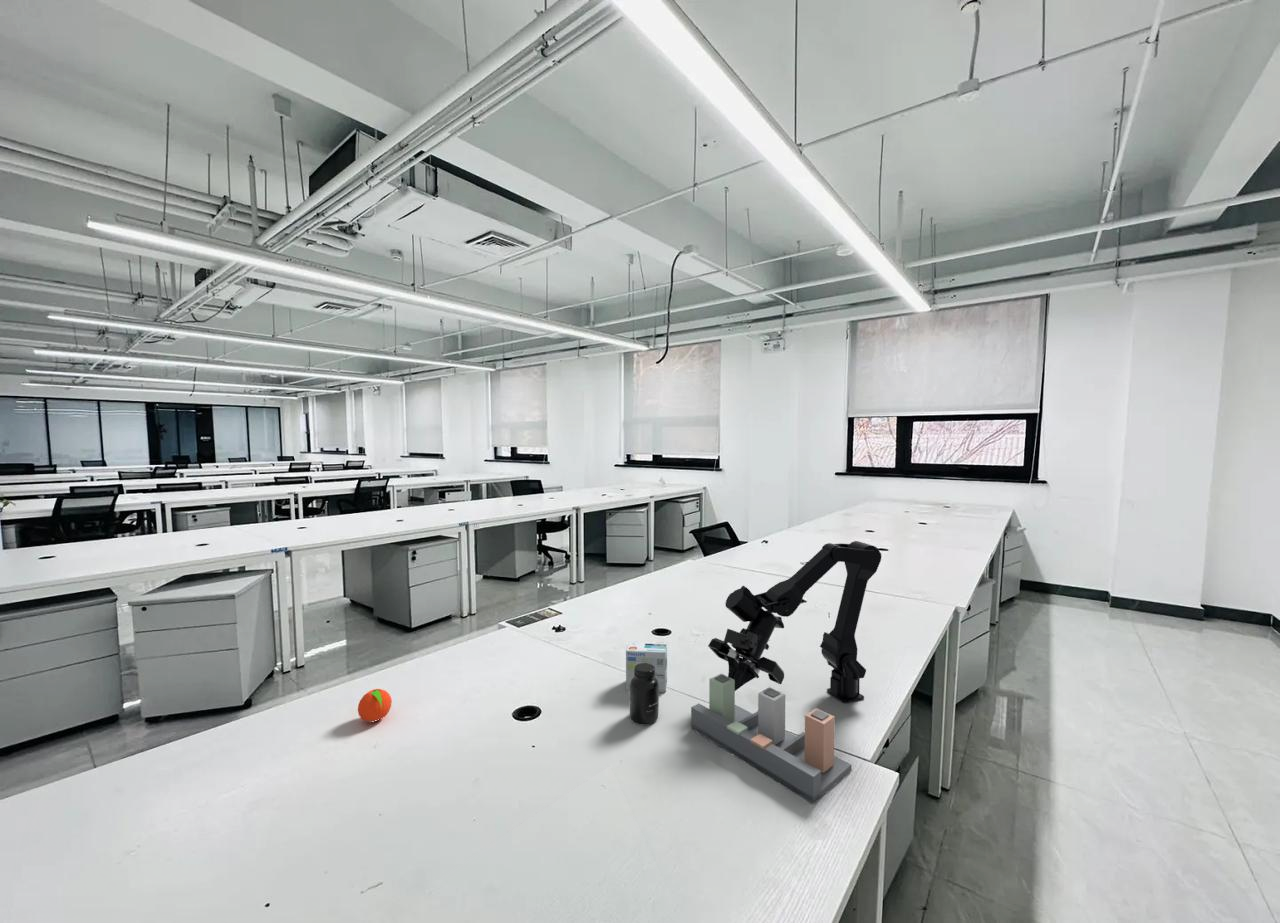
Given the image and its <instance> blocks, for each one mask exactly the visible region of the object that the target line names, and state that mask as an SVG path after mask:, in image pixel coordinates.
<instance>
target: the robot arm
mask: <svg viewBox="0 0 1280 923" xmlns="http://www.w3.org/2000/svg"><path fill="white" fill-rule="evenodd" d="M881 561H882V552H880V550H879V548H878V547H877V546H875V545H872V544H869V543H866V542H863V541H859V540H855V541H852V542H850V543H840V542H839V543H831V542H828V543H825V544H824V545H823V546H822V547H821V549H820V550H819V551H818V552H817V553H816V554H814V556H812V558H811V559H809V560H808V561H807V562H806V563H805V564H804V565H802V567H801V568H800V569H798V570H797V572H795V573H794V574H793V575H792V576H791V577H790V578H788V579H785V580H783V581H781V582H780V581H779V582H778V583H776V584H774V585H773V586H771V587H770V588H769V589H767V591H765V592H761V593H758V594H753V593H752V592H751V590H750V589H749V588H748V587H747V586H745V585H742V586H741V587H740V588H737V589H736V590H733V591H732V592H730V593H729V595H728V596H727V597H726V600H725V602H724V603H725V604H724V605H725V608H726V609H728V611H730V612H731V613H733V614H734V615H735V616H736V617H737V618H738V619H739V620H741V621H742V622H745V623H747V622H749V623H748V625H747V627H746V628H741V630H740V631H739V632H738V631H736V630H734V629H730V628H727V630H726V631H725V632H726V633H725V636H724V640H722V639H719V638H716V637H714V638H712V639H711V640H710V642H709V643H708V645H707V646H708V648H709V649H710V650H711V651H712V652H713V653H714V655H715V656H717V657H718V658H719V659H721V660H724V661H726V662H727V664H728V673H727V674H728V675H727V677H729V678H732V679H734V680H735V692H736V691H737V690H739V689H740V688H741V687H742V686H744V685H746V684H747V683H748V682H750V681H752V680H754V679H759V678H760V675H759V673H760V671H762V672H764V673H766V674H767V676H768V679H769V680H770V681H772V682H774V683H776V684H779V685H782V683H783V681H784V679H785V672H784V671H785V670H783V669H782V667H780V665H779V664H778V662H776V661H775V660H773V659H769V658H768V657H765V656H762V655H763V653H764V651H765V650H769V649H770V648H769V647H770V645H769V644H768V642H769V641H770V640H771V639H770V638H771V636H772V635H773V632H774V631H775V628H776V629H777V628H778V629H784V628H785V625H784V622H783V619H782V617H786V618H788V617H791V615H793V614H794V613H795V612H796V610H797V609H798V608H799V606H800V605H801V604H802V602H803V598H804V595H805V594H806V592H807V591H808V590H810V589H811V588H812V587H813V586H815V584H816V583H817V582H818V581H819V580H820V579H822V578H823V577H824V575H826V574H827V573H828V572H829V571H830V570H831V569H832V568H834V566H835V565H837V564H838V563H840V562H843V563H844V566H845V569H846V578H845V583H844V587H843V590H842V591H843V592H842V595H841V597H840V598H841V600H840V604H839V607H838V612H837V615H836V620H835V623H834V628H833V629H832V630H831V631H830V632H829V633H828V632H823V635H822V642H821V644H820V645H819V647H820V648H821V654H822V656H823V657H822V658H824V659H825V660H826V662H827V665H828V666H830V667H831V668H833V669H831V671H830V672H831V676H830V683H829V684H830V685H829V688H826V692H827V693H829V694H830V695H831V696H833V697H835V698H837V699H838V700H839V701H841V702H842V703H850V702H855V701H860V700H863V699H865V696H864V695H863V694H861V693H860V679H864V678H865V677H866V676H865V675H866V673H867V669H866V668H865V667H864V666H863V665H862V664H861V663H860V661H858V660H857V659H858V650H859V649H858V645H857V641H856V631H857V627H858V623H859V618H860V614H861V611H862V606H863V601H864V598H865V594H866V590H867V585H868V582H869V581H870V579H871V578H872V577H873V576H874V575H875V574H876V573H877V571H878V568H879V566H880V564H881ZM764 609H765V610H764ZM775 614H777V615H778V616H776V615H775ZM728 643H729V644H730V645H731V646H732V647H731V646H730V645H729V644H728ZM733 648H734V649H733Z"/></svg>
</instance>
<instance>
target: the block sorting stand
mask: <svg viewBox="0 0 1280 923" xmlns="http://www.w3.org/2000/svg"><path fill="white" fill-rule="evenodd" d="M690 708H691V710H690V712H691V713H690V714H691V717H690V719H691V720H690V722H691V723H690V729H691V730H692V731H694V732H696V733H697V734H699V735H700V736H702V737H704V738H705V739H707V740H708V741H710V742H712V743H713V744H715V745H716V746H718V747H720V748H721V749H724V750H725V751H726V752H728V753H729V754H731V755H732V756H734V757H736V758H738V759H739V760H741V761H742V762H744V763H746V764H747V765H749V766H750V767H752V768H754V769H755V770H757V771H759V772H760V773H761V774H763V775H765V776H766V777H768V778H770V779H771V780H773V781H775V782H776V783H778V784H780V785H781V786H783V787H784V788H785V789H788V790H790V791H791V792H792V793H794V794H796V795H797V796H799V797H800V798H802V799H804V800H805V801H807V802H809V803H810V804H812V805H815V804H816V803H817V802H818V801H819V800H820V799H821V798H822V797H823V796H824V795H826V794H827V793H828V792H829V791H830V790H831V789H832V788H833V787H835V786H836V785H837V784H838V783H839V782H841V781H842V780H843V779H844V778H845V777H846V776H847V775H848V774H849V773H850V772H851V771H852V764H851V763H849V762H847V761H845V760H843V759H841V758H840V757H838V756H836V755H834V765H833V766H831V767H830V768H829V769H828V770H827V771H825V772H824V773H822V772H821V770H819V769H817V768H815V767H813V766H811V765H810V764H808V763H806V762H804V756H805V731H802V732H801V733H799V734H798V735H794V733H791V732H789V731H787V730H785V739H783V740H782V741H780V742H779V743H777V744H776V745H773V744H772V740H771V739H769V738H767V737H765V736H763V735H761V734H758V710H757V711H755V712H754V713H752V712H750V711H748V710H746V709H744V708H742V707H741V706H738V705H737V704H735V721H734V722H732V721H730V720H728V719H726V718H725V717H723V716H721V715H719V714H717V713H716V712H714V711H712V710H710V709H709V707H706V706H705V705H703V704H701V703H696V704H695V705H693V706H691V707H690ZM844 776H845V777H844ZM843 777H844V778H843ZM836 783H837V784H836ZM835 784H836V785H835ZM827 791H828V792H827ZM826 792H827V793H826Z"/></svg>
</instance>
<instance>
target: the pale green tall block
mask: <svg viewBox="0 0 1280 923" xmlns="http://www.w3.org/2000/svg"><path fill="white" fill-rule="evenodd" d="M708 690H709V693H708V694H709V695H708V696H709V700H708V701H709V703H708V704H709V705H708V706H709V707H708V709H710V710H712V711H714V712H716V713H717V714H719V715H721V716H723V717H725V718H726V719H728V720H730V721H732V722H734V721H735V705H736V703H735V702H736V701H735V700H736V699H735V698H736V696H735V692H736V691H735V680H734V679H732V678H729V677H728V675H725V674H723V673H719V674H717V675H715V676H713V677H711V678H709V689H708Z"/></svg>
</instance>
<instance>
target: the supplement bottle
mask: <svg viewBox="0 0 1280 923" xmlns="http://www.w3.org/2000/svg"><path fill="white" fill-rule="evenodd" d="M659 693H660V692H659V682H658V680H657V678H656V677H655V667H654V666H653V665H652V664H648V663H640V664H637V665H636V666H635V668H634V677H633V678H632V679H631V681H630V690H629V719H630V721H632V722H633V723H634V724H638V725H643V726H646V725H647V726H648V725H651V724H654V723H655V722H656V721H658V719H659V711H660V710H659V706H660V705H659V704H660V703H659V701H660V700H659V699H660V694H659Z"/></svg>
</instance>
